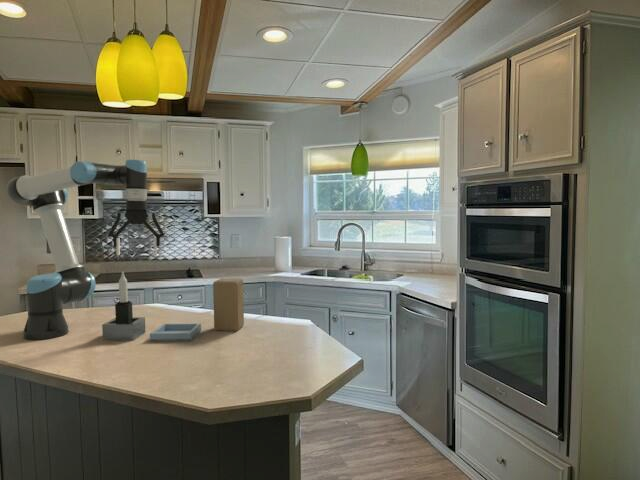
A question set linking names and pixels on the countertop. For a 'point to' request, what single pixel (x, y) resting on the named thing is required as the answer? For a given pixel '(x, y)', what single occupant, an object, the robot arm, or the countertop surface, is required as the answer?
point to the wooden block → (228, 304)
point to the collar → (123, 329)
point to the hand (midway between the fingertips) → (137, 254)
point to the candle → (123, 304)
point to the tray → (176, 332)
